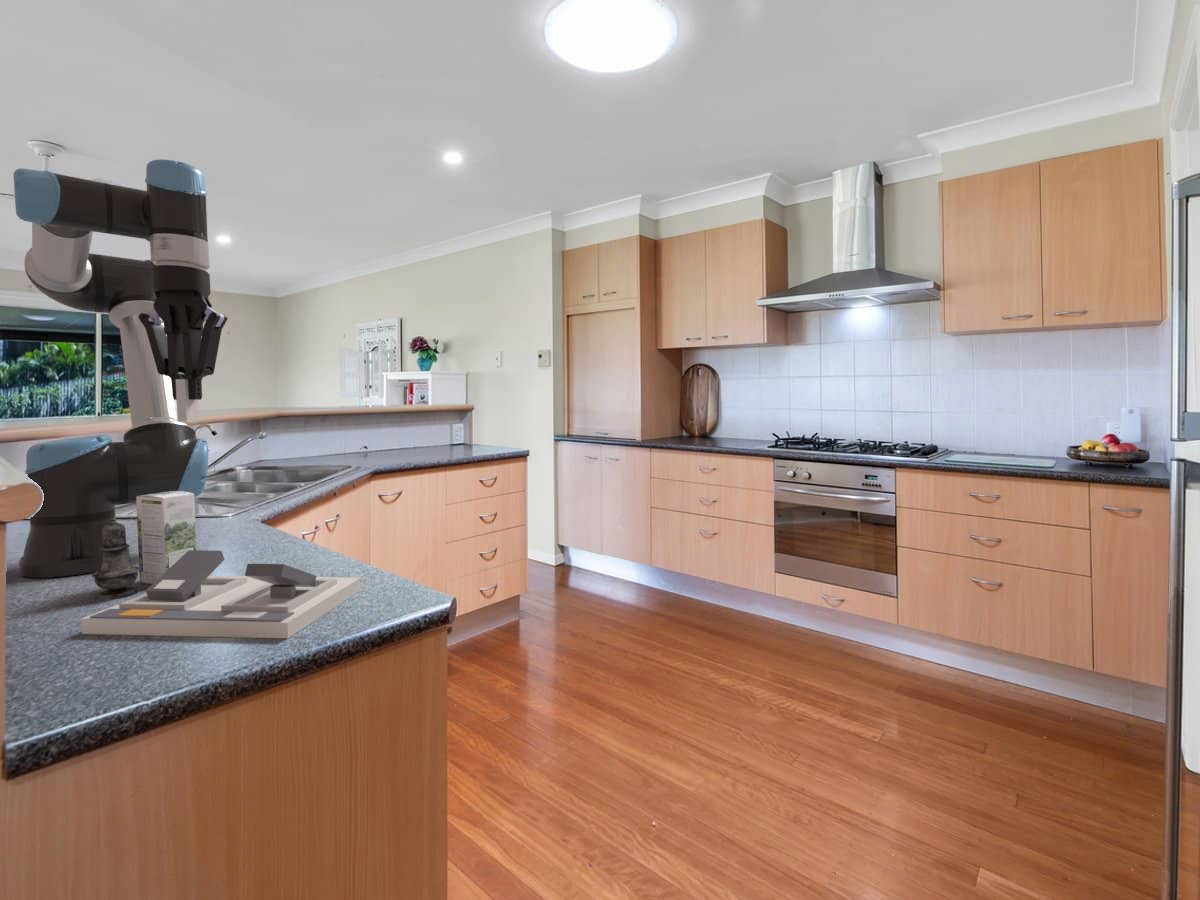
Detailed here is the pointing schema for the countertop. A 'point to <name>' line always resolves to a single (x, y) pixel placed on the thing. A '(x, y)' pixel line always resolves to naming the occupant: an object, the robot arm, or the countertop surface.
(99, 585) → the grey tiered stone piece
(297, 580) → the switch
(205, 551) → the switch
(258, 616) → the switch panel
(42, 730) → the countertop surface
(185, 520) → the syrup box
